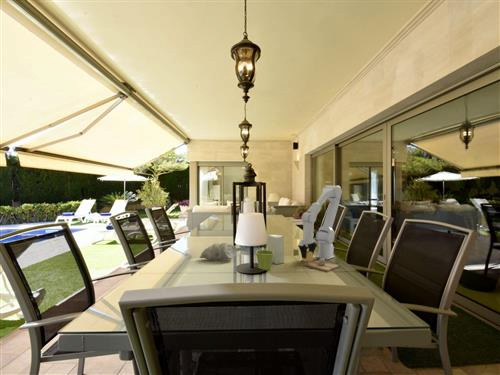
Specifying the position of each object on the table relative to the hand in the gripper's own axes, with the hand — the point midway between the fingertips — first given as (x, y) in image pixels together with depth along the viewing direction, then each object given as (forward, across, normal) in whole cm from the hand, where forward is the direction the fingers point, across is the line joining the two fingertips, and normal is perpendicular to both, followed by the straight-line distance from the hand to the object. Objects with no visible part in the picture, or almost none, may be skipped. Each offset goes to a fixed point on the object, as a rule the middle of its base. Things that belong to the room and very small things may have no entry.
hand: (307, 256), depth 162 cm
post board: (+2, +5, +12) cm, 13 cm away
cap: (+2, 0, 0) cm, 2 cm away
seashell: (+3, +39, -33) cm, 51 cm away
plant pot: (+2, +32, -5) cm, 32 cm away
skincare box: (+2, +17, -10) cm, 20 cm away
